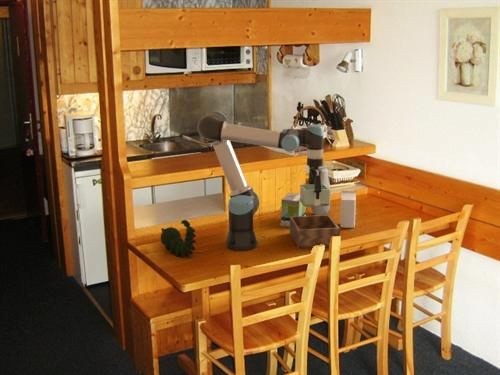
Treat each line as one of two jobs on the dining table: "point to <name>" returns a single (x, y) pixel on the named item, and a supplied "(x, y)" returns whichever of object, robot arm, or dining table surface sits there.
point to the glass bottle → (325, 180)
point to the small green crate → (308, 195)
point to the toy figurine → (179, 240)
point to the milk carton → (348, 209)
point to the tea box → (291, 208)
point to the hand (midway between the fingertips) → (314, 202)
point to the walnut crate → (313, 230)
